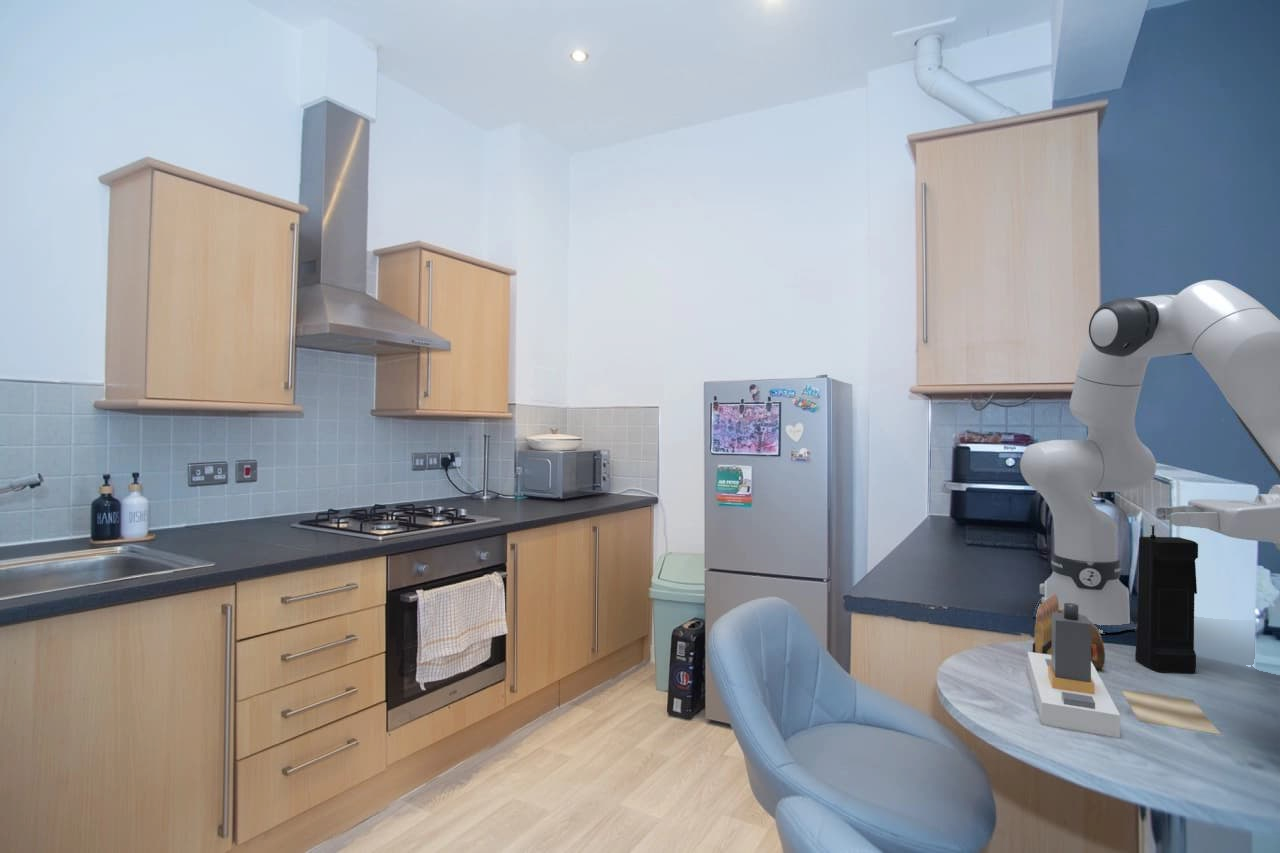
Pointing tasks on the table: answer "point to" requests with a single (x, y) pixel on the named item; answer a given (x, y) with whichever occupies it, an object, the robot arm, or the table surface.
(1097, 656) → the tin
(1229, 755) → the table surface
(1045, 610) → the ammunition clip
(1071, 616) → the plug
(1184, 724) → the oak board
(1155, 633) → the portable radio
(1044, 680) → the power strip
